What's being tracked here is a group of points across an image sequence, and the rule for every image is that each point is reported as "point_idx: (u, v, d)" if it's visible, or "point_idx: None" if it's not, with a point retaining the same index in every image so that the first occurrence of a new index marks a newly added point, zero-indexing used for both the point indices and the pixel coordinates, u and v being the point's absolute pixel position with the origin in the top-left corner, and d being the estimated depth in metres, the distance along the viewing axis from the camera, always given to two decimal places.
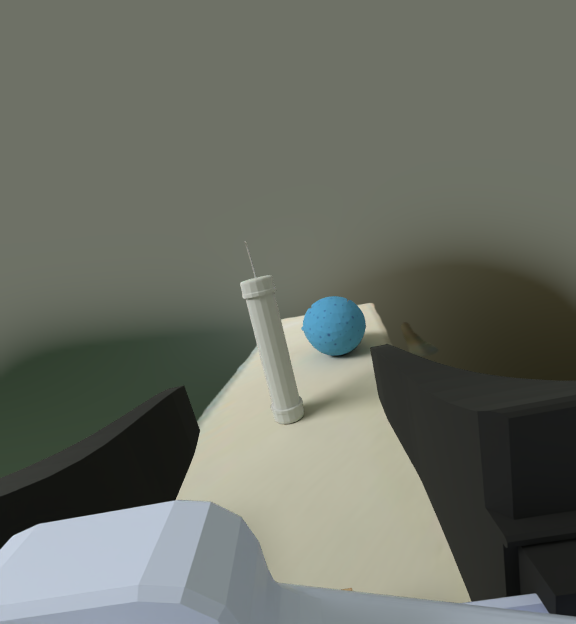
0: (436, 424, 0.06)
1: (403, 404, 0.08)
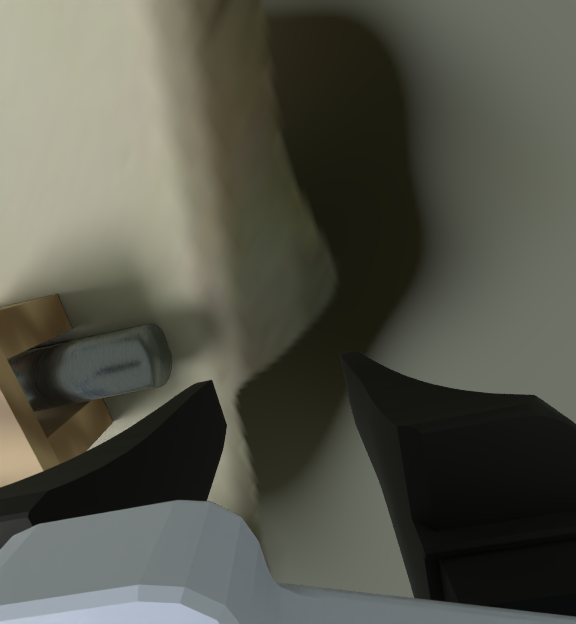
0: (381, 434, 0.06)
1: (363, 411, 0.09)
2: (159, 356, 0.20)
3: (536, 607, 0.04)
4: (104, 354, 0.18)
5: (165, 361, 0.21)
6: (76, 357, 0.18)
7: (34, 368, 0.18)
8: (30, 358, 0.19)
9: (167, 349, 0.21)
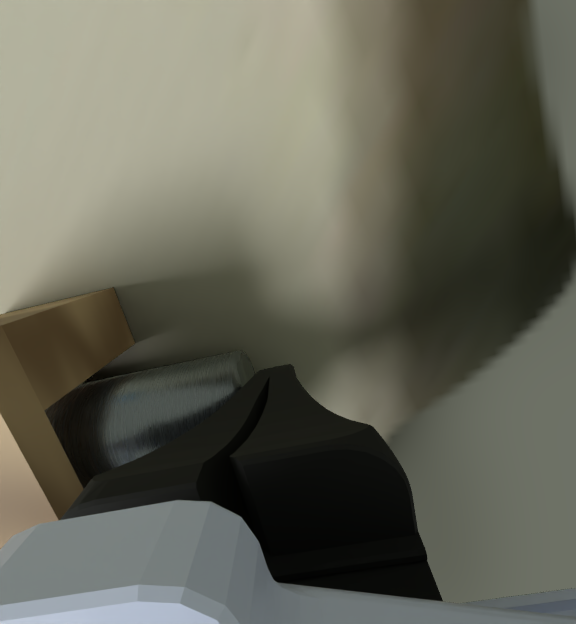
0: None
1: None
2: None
3: None
4: (173, 417, 0.10)
5: None
6: (121, 421, 0.10)
7: None
8: None
9: None
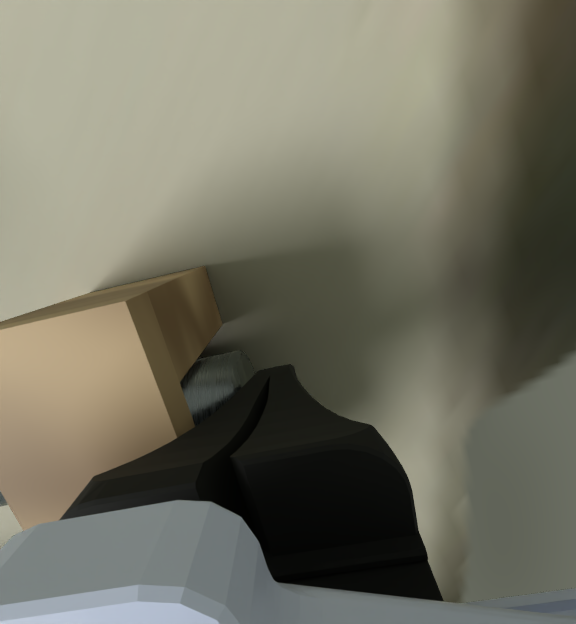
0: None
1: None
2: None
3: None
4: None
5: None
6: None
7: None
8: None
9: None
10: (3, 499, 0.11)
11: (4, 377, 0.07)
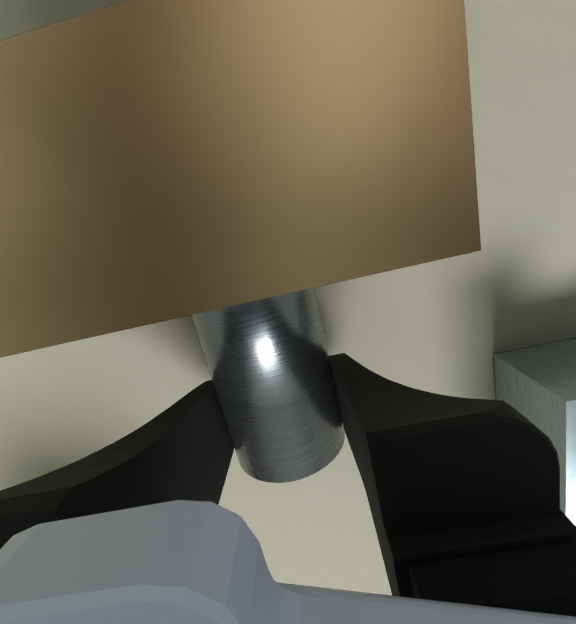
0: (359, 438, 0.06)
1: (348, 414, 0.09)
2: None
3: None
4: None
5: None
6: None
7: (204, 318, 0.09)
8: (198, 333, 0.09)
9: None
10: (290, 386, 0.09)
11: None
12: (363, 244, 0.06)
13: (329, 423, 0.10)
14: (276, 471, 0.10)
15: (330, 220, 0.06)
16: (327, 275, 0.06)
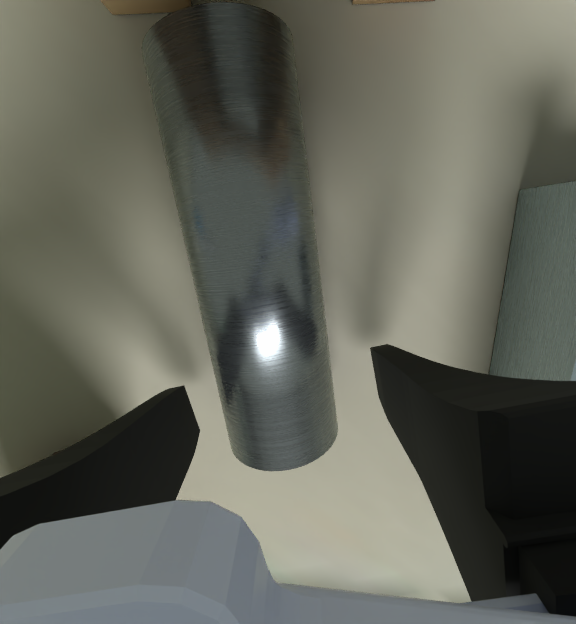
0: (436, 424, 0.06)
1: (403, 404, 0.08)
2: None
3: None
4: (172, 126, 0.08)
5: None
6: (185, 203, 0.08)
7: (209, 302, 0.09)
8: (202, 316, 0.10)
9: None
10: (287, 377, 0.09)
11: None
12: None
13: (322, 418, 0.10)
14: (266, 459, 0.10)
15: None
16: None
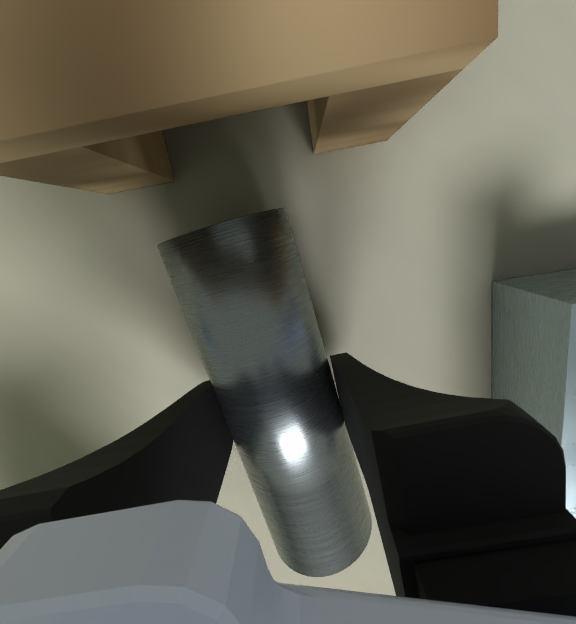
0: (363, 437, 0.06)
1: (350, 414, 0.09)
2: None
3: None
4: (211, 309, 0.08)
5: None
6: (227, 368, 0.09)
7: (260, 446, 0.09)
8: (246, 456, 0.10)
9: None
10: (338, 486, 0.10)
11: None
12: (360, 20, 0.05)
13: (363, 505, 0.11)
14: (330, 564, 0.11)
15: None
16: (315, 61, 0.05)
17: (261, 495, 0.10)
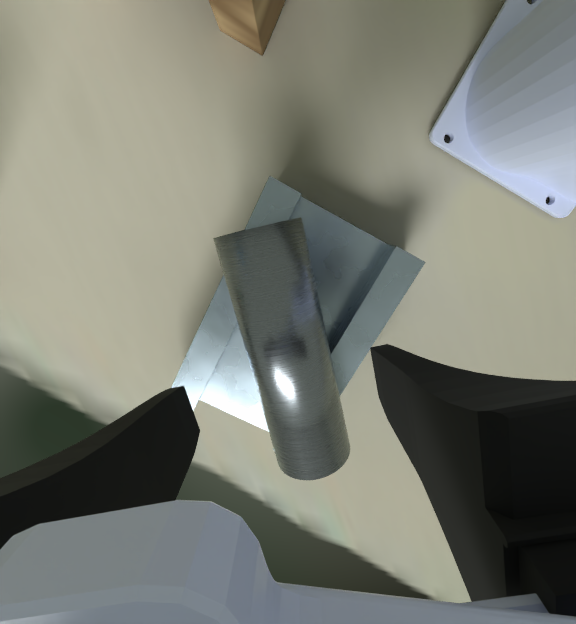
0: (436, 424, 0.06)
1: (403, 403, 0.08)
2: None
3: None
4: (259, 280, 0.12)
5: None
6: (265, 322, 0.13)
7: (283, 379, 0.14)
8: (270, 390, 0.14)
9: None
10: (332, 409, 0.15)
11: None
12: None
13: (345, 429, 0.16)
14: (326, 468, 0.15)
15: None
16: None
17: (278, 420, 0.14)
